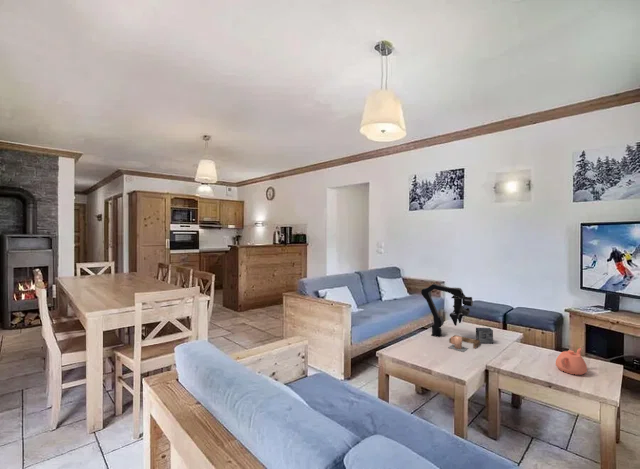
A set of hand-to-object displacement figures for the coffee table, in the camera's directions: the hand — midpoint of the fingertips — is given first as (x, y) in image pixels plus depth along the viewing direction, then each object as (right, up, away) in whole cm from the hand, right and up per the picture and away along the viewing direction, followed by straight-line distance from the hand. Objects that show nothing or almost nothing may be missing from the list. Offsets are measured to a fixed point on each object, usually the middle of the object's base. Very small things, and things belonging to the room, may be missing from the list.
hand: (457, 324), depth 250 cm
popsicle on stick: (-8, -12, -17) cm, 23 cm away
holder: (+1, -12, -8) cm, 15 cm away
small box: (+18, -12, -6) cm, 22 cm away
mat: (-8, -12, -18) cm, 23 cm away
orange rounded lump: (+46, -13, -54) cm, 73 cm away
